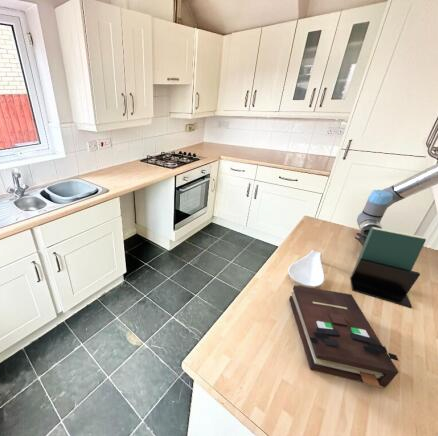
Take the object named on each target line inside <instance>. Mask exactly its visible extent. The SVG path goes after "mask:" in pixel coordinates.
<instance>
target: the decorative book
mask: <svg viewBox="0 0 438 436" xmlns="http://www.w3.org/2000/svg"><path fill="white" fill-rule="evenodd" d="M292 290H293V291H290V294H291V295H290V296H289V298H288V300H289V304H290V308H291V310H292V314H293V317H294V320H295V323H296V327H297V329H298V333H299V334H298V335H299V336H300V340H301V344H302V347H303V350H304V353H305V357H306V360H307V363H308V366H309V370H311V371H314V372H319V373H322V374H327V375H331V376H336V377H339V378H345V379H347V380H352V381H357V382H361V383H365V384H367V385H371V386H375V387H377V388H387V387H388V386H389V385H390V384H391V382H392V381H393V380H394V379H395V377H396V376H397V375H398V374H399V370H398V368H397V367H396V365H395V363H394V362H393V361H397V362H400V360H399V357H398V356H397V354H394V353H391V352H388V350H387V348H386V346H384V345H383V343H382V342H381V340H380V339H379V337H378V336H377V334H376V332H375V331H374V329H373V327H372V326H371V324H370V322H369V321H368V319H367V317H366V316H365V314H364V312H363V311H362V309H361V307H360V306H359V305H358V302H357V301H356V299H355V298H354V295H352V294H351V293H345V292H338V291H333V290H326V289H320V288H316V287H315V288H308V287H304V286H301V285H295V284H294V285H293V287H292Z"/></svg>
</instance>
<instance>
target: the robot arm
mask: <svg viewBox="0 0 438 436" xmlns="http://www.w3.org/2000/svg"><path fill="white" fill-rule="evenodd" d="M437 185H438V162H437V163H435V164H433V165H431V166H429V167H427V168H425V169H423V170H421V171H419V172H416V173H415V174H413V175H411V176H409V177H407V178H404V179H403V180H401V181H399V182H397V183H395V184H393V185H390V186H388V187H386V188H384V189H374V190H371V192H370V193H369V195H368V198H367V201H366V202H365V205H364V207H363V209H362V211H361V212H360V213H358V214H357V218H356V223H357V225H358V228H359V232H356V234H355V236H354V239H356V240H357V241H358V242H359V243H360V246H362V247H363V246H364V243H365V241H366V238H367V236H368V233H369V231H370V228H371V227H376V228H381V229H383V227H382V224H381V221H382V219H383V217H384V215H385V214H386V212H387V209H388V208H389V207H391V206H392V205H393V204H395V203H398V202H400V201H402V200H404V199H407V198H408V197H411V196H413V195H415V194H417V193H420V192H422V191H424V190H427V189H429V188H431V187H435V186H437Z"/></svg>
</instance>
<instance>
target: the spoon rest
mask: <svg viewBox="0 0 438 436" xmlns="http://www.w3.org/2000/svg"><path fill="white" fill-rule="evenodd" d="M322 256H323V253H322V252H319V251H316V250H314V249H312V250H311V251H310V252H309V253H308V254H306V255H305V256H303V257H302V258H299V259H298V260H296V261H294V262H293V263H292V264H291V265H289V266H288V268H287V273H288V276H289V277H290V279H291V280H292V281H293V282H294V283H295V284H297V285H298V286H302V287H308V288H315V289H316V288H317V287H318V288H319V287H320V286H322V285H323V284H324V282H325V272H324V268H323V265H322V264H323V263H322V259H323V257H322Z"/></svg>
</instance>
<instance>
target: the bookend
mask: <svg viewBox="0 0 438 436" xmlns="http://www.w3.org/2000/svg"><path fill="white" fill-rule="evenodd" d="M357 261H358V260H357ZM356 263H357V262H356ZM355 266H356V267H355ZM355 266H354V268H355V269H353V270H352V274H351V275H350V277H349V280H350V286H351V291H353V292H356V293H359V294H361V295H366V296H369V297H372V298H375V299H379V300H381V301H384V302H389V303H391V304H395V305H398V306H402V307H405V308H409V309H412V308H413V306H412V305H413V304H412V303H411V300H410V299H409V296H408V293H409V292H410V290H411V289H412V288H413V286H414V285H415V283H416V281H417V280H418V278H419V277H420V276H421V273H420V272H418V271H415V270H407V269H403V268H399V267H394V266H390V265H386V264H382V263H378V262H374V261H370V260H366V259H362V258H360V260H359V261H358V263H357V265H356V264H355Z"/></svg>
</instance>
